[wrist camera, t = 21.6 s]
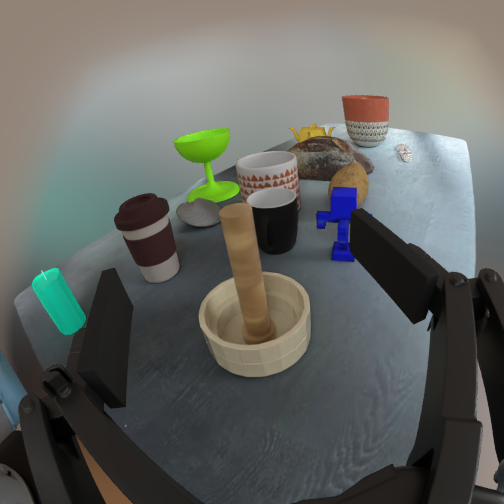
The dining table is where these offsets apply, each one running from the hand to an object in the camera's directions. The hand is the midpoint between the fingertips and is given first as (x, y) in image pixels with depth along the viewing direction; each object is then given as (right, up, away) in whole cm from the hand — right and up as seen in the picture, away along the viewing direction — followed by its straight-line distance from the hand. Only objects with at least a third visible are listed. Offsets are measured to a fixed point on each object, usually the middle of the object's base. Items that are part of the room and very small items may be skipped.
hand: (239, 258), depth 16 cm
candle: (-32, -13, +30) cm, 45 cm away
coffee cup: (-16, -4, +40) cm, 43 cm away
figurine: (+17, 0, +36) cm, 40 cm away
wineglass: (-11, +18, +71) cm, 74 cm away
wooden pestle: (+2, -11, +23) cm, 25 cm away
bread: (+25, +28, +78) cm, 87 cm away
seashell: (-11, +8, +56) cm, 58 cm away
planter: (+49, +45, +97) cm, 118 cm away
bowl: (+2, -11, +23) cm, 26 cm away
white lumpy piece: (+61, +39, +85) cm, 112 cm away
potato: (+24, +11, +52) cm, 58 cm away
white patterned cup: (+6, +10, +56) cm, 57 cm away
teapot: (+27, +45, +103) cm, 115 cm away
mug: (+5, +1, +40) cm, 41 cm away
